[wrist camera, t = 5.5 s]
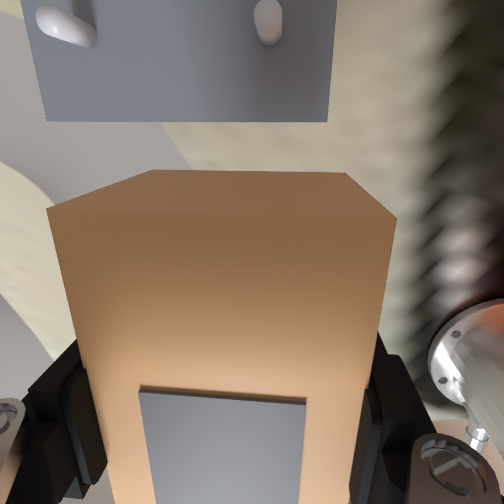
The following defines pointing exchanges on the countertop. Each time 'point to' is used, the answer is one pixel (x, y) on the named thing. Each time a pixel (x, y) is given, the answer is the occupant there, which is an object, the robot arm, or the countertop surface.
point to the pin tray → (182, 59)
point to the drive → (226, 329)
